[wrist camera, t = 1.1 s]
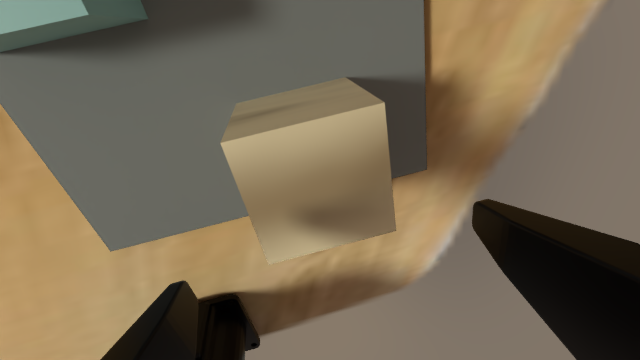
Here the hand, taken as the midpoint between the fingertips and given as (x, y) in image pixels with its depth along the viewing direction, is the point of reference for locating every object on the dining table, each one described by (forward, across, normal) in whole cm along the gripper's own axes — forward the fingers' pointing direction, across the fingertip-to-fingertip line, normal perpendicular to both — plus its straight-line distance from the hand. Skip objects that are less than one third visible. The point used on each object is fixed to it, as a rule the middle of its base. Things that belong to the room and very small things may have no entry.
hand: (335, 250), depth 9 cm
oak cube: (+9, 0, 0) cm, 9 cm away
